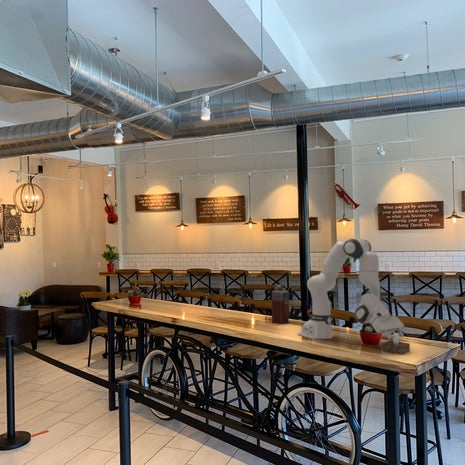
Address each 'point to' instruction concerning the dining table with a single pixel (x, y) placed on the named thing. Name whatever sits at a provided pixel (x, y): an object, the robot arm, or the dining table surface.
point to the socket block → (396, 347)
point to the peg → (395, 338)
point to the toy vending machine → (280, 306)
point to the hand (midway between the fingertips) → (396, 337)
